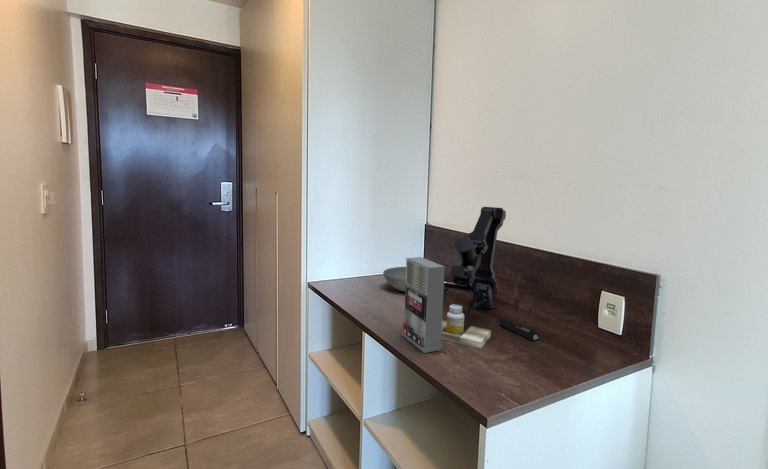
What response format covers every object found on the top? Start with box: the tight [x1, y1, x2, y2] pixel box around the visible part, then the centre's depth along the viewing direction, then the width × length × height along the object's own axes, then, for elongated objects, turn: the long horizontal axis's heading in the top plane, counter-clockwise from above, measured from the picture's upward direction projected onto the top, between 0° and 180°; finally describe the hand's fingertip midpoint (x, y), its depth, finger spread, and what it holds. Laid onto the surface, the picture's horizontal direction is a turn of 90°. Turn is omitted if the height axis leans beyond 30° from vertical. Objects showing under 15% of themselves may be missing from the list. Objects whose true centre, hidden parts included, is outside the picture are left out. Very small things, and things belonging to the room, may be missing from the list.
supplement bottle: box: [446, 304, 465, 336], centre depth 130 cm, size 5×5×10 cm
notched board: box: [441, 319, 492, 349], centre depth 130 cm, size 11×17×2 cm, turn 61°
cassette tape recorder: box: [401, 256, 445, 354], centre depth 122 cm, size 14×6×25 cm, turn 24°
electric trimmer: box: [498, 317, 541, 343], centre depth 134 cm, size 4×16×3 cm, turn 29°
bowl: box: [382, 266, 406, 292], centre depth 181 cm, size 21×21×8 cm
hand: (454, 311), depth 128 cm, fingers open, 9 cm apart
